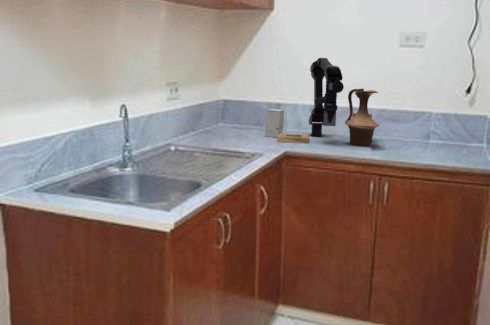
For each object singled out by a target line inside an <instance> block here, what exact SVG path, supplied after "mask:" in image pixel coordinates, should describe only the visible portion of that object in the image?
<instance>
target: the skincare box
mask: <svg viewBox="0 0 490 325" xmlns="http://www.w3.org/2000/svg"><path fill="white" fill-rule="evenodd" d="M284 117H285V110H283V109H276V108H267V110H266V118H265V119H266V120H265V130H264V135H265V137H271V138H277V137H278V135H279V133H282V134H283V132H284V130H283V129H284V120H285V118H284Z"/></svg>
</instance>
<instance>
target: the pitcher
mask: <svg viewBox="0 0 490 325" xmlns="http://www.w3.org/2000/svg"><path fill="white" fill-rule="evenodd" d="M353 93H354V94H355V96H356V98H358V99H359V105H358V106H359V107H358V110H357V111H356V112H357V113H356V115H355V116H354V117H353V118H352V115H353V112H354V111H353V110H354V108H353V101H352V99H353V98H352V95H353ZM378 93H379V92H378V91H377V90H371V89H370V90H365V88H353V89H351V90H350V91H348V95H347V101H348V106H349V116H348V117H347V119H346V120H345V122H344V124H345V125H346V126H347V127H348V131H349V144H351V145H355V146H363V147H364V146H365V147H366V146H372V141H373V138H374V132H375V130H376V128H377V127H380V124H379V123H378V122H377V121H375V120H374V118H373V117H372V118H371V117H370V115H369V113H370V112H369V110H368V109H369V108H368V104H369V99H370V97H371V96H372V95H374V94H378Z"/></svg>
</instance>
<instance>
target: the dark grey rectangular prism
mask: <svg viewBox="0 0 490 325" xmlns="http://www.w3.org/2000/svg"><path fill="white" fill-rule="evenodd" d="M336 123H337V112H336V113H335V115H334V117H333V119H332V121H331V123H329V122H328V115H327V112H326V111H324V122H323V125H322V127H323V126H324V127H336Z"/></svg>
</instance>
